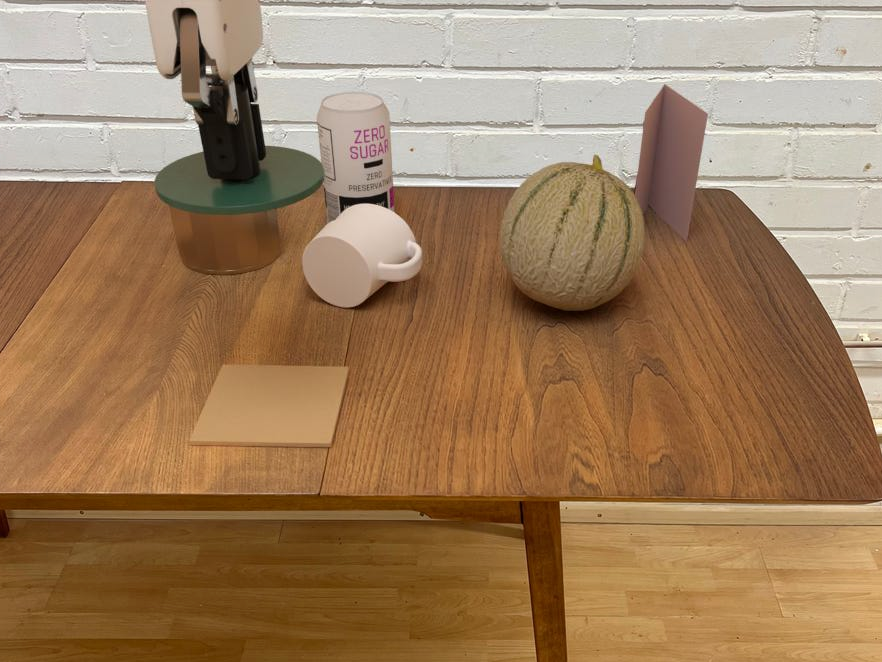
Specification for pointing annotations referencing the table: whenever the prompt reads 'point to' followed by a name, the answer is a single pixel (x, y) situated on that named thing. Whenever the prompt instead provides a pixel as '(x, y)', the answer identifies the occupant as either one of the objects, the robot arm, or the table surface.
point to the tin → (226, 241)
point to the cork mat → (272, 406)
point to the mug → (360, 255)
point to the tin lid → (269, 187)
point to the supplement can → (355, 151)
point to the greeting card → (670, 158)
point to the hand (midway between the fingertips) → (238, 165)
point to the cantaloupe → (572, 235)
